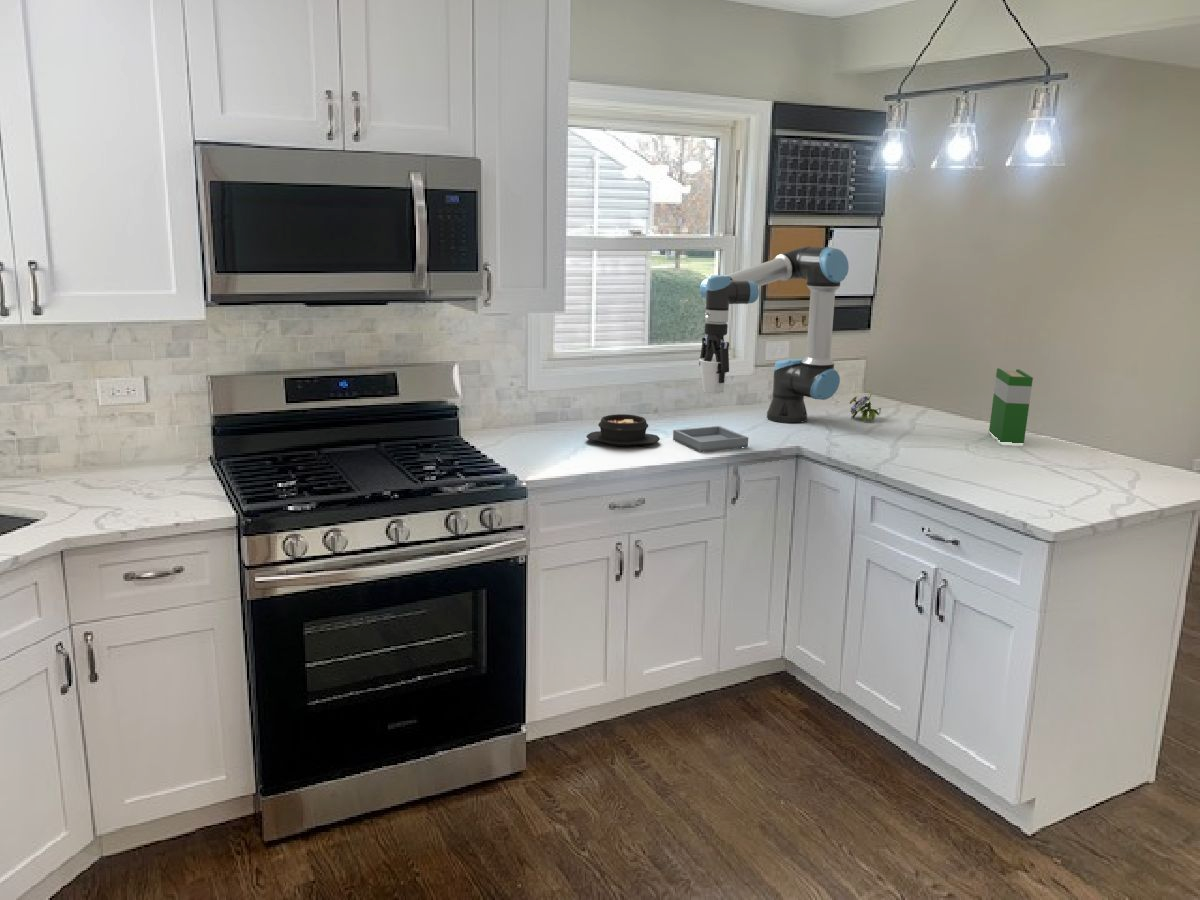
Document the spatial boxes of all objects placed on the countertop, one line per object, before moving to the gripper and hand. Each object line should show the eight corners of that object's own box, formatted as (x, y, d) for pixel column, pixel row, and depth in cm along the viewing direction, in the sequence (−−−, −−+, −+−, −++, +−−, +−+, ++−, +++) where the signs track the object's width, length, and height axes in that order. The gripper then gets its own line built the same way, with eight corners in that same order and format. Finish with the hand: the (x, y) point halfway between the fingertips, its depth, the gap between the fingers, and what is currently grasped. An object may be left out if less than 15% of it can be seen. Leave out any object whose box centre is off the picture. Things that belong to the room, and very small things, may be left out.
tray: (718, 435, 317) (719, 425, 316) (747, 447, 300) (748, 437, 299) (673, 439, 309) (673, 430, 308) (700, 452, 293) (700, 442, 292)
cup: (726, 390, 307) (728, 358, 305) (727, 395, 298) (729, 362, 295) (697, 389, 308) (699, 357, 306) (697, 394, 299) (699, 361, 296)
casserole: (581, 447, 298) (581, 422, 296) (592, 434, 316) (592, 411, 314) (655, 451, 293) (656, 426, 291) (662, 438, 311) (663, 415, 309)
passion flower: (852, 432, 348) (845, 404, 353) (880, 427, 347) (873, 399, 352) (855, 421, 338) (848, 392, 342) (884, 416, 337) (877, 388, 341)
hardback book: (988, 433, 325) (997, 368, 319) (1010, 435, 324) (1019, 369, 318) (1000, 445, 308) (1009, 376, 302) (1023, 446, 307) (1032, 377, 301)
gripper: (691, 319, 305) (687, 385, 311) (723, 326, 287) (718, 396, 292) (710, 319, 308) (706, 384, 314) (743, 326, 290) (738, 395, 295)
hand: (712, 390), depth 303 cm, fingers closed on cup, 8 cm apart
